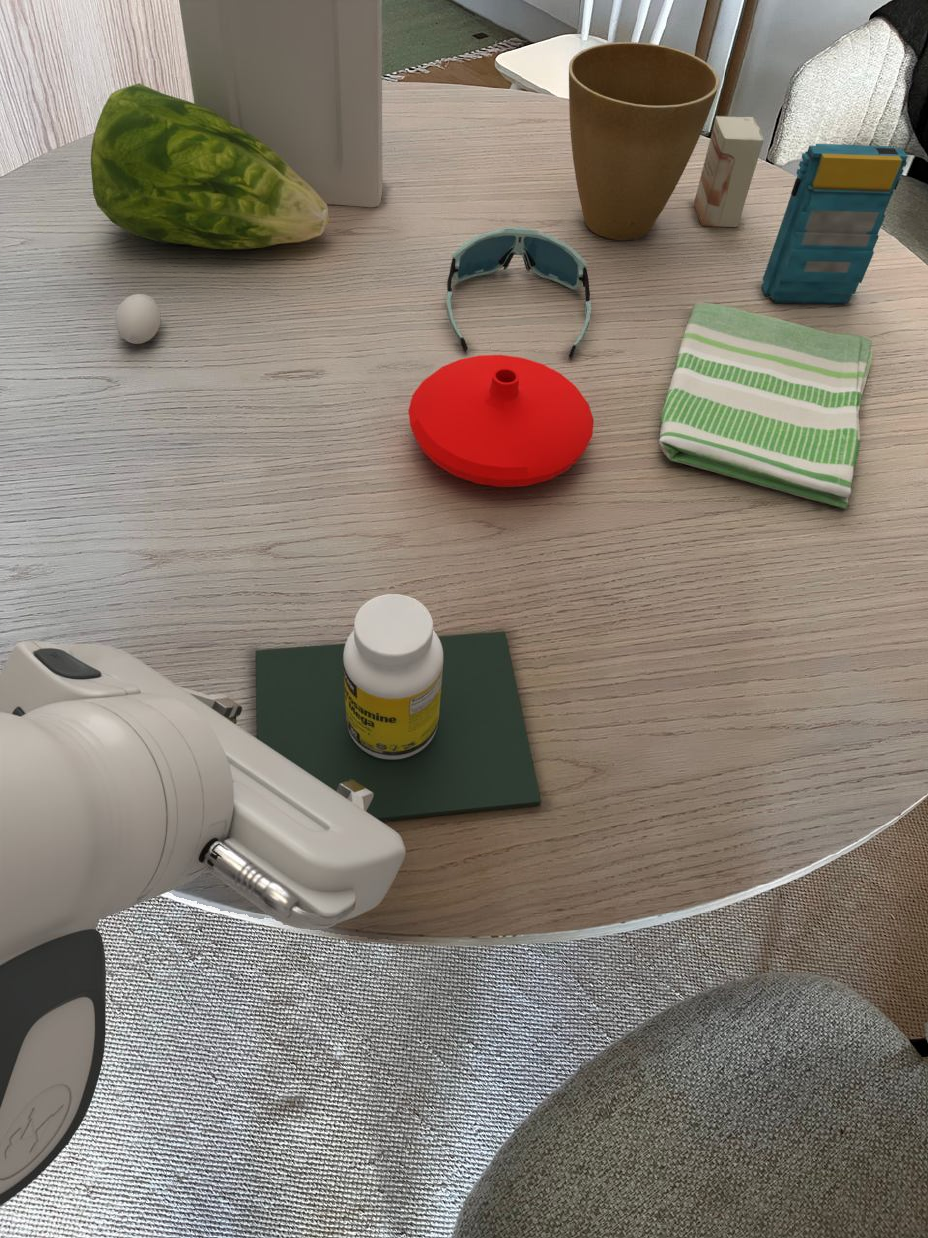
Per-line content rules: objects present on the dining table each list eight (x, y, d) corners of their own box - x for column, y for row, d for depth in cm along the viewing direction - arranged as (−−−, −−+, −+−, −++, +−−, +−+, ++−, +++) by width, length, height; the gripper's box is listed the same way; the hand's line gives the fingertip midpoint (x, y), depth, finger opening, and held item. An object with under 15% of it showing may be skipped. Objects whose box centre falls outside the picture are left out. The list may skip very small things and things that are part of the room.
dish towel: (868, 356, 97) (879, 333, 94) (851, 516, 82) (863, 492, 80) (690, 314, 99) (697, 290, 97) (644, 461, 85) (650, 437, 83)
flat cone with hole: (465, 363, 92) (470, 297, 87) (617, 426, 88) (633, 361, 82) (372, 458, 83) (371, 391, 78) (536, 533, 79) (547, 468, 73)
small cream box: (692, 203, 113) (714, 113, 105) (729, 204, 113) (754, 115, 105) (700, 227, 110) (724, 136, 102) (738, 228, 110) (765, 138, 102)
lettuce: (307, 315, 102) (322, 211, 91) (79, 248, 99) (66, 132, 88) (334, 227, 110) (352, 120, 98) (122, 162, 106) (116, 44, 95)
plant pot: (670, 191, 114) (704, 43, 102) (692, 262, 105) (733, 109, 93) (543, 185, 114) (562, 35, 101) (554, 256, 104) (577, 101, 92)
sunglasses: (583, 271, 103) (591, 230, 98) (588, 375, 95) (597, 336, 91) (448, 262, 102) (450, 220, 98) (442, 366, 95) (444, 326, 90)
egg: (171, 319, 94) (163, 283, 91) (154, 357, 90) (146, 321, 87) (131, 315, 94) (122, 279, 91) (112, 354, 90) (103, 317, 87)
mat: (259, 834, 61) (258, 830, 61) (256, 654, 70) (255, 650, 70) (540, 805, 64) (541, 801, 63) (504, 635, 72) (505, 631, 72)
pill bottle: (327, 723, 66) (318, 622, 57) (393, 670, 69) (393, 566, 60) (392, 781, 64) (392, 684, 55) (457, 723, 67) (467, 623, 58)
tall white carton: (390, 143, 118) (391, -144, 96) (379, 207, 108) (377, -94, 86) (230, 130, 117) (194, -161, 95) (205, 194, 108) (159, -113, 86)
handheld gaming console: (845, 285, 104) (903, 144, 92) (857, 308, 102) (918, 166, 90) (756, 283, 103) (803, 141, 92) (765, 306, 101) (815, 163, 89)
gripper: (347, 868, 38) (470, 804, 51) (-7, 622, 45) (182, 620, 58) (282, 1000, 40) (418, 905, 52) (-55, 741, 46) (140, 713, 59)
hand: (292, 754), depth 55 cm, fingers open, 8 cm apart
